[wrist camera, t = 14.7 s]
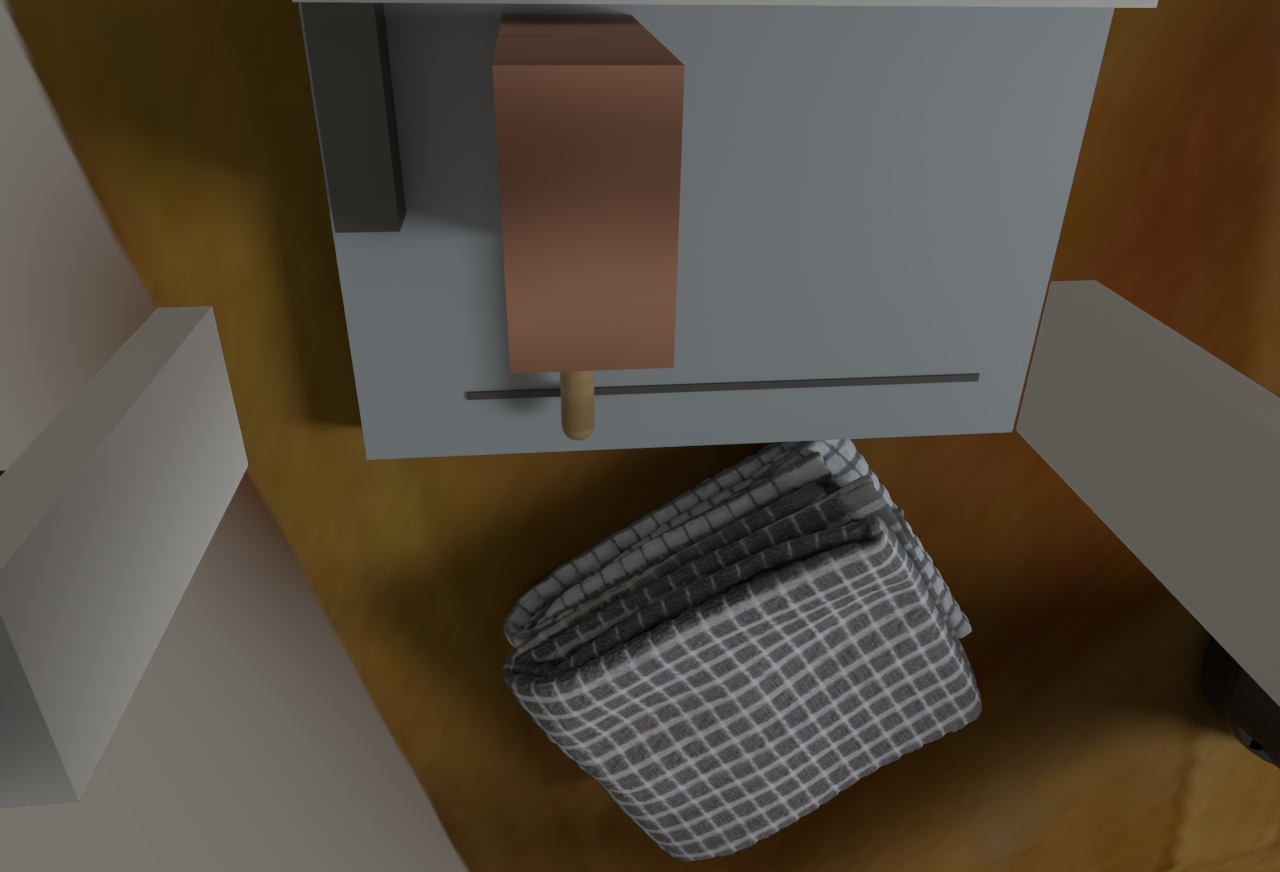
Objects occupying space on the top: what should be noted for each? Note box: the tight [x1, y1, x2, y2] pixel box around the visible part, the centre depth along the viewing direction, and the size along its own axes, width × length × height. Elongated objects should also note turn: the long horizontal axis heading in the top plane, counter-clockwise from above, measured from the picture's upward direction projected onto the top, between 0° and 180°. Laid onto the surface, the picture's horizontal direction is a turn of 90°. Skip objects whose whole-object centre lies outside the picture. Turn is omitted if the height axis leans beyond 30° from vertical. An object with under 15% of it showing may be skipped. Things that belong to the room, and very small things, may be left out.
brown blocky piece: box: [492, 14, 685, 441], centre depth 28 cm, size 14×4×11 cm, turn 179°
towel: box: [502, 439, 982, 862], centre depth 42 cm, size 15×18×8 cm
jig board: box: [292, 0, 1158, 460], centre depth 32 cm, size 18×26×6 cm
